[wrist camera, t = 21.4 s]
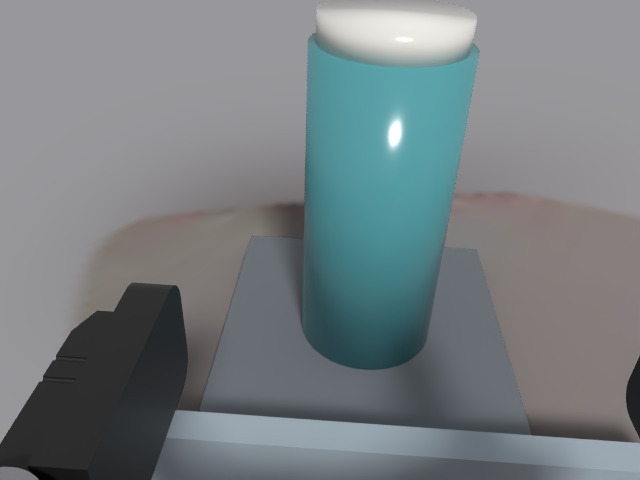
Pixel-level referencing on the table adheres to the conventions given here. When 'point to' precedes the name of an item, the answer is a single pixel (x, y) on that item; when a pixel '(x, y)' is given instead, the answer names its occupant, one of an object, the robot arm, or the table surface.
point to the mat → (356, 384)
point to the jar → (381, 171)
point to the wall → (376, 452)
